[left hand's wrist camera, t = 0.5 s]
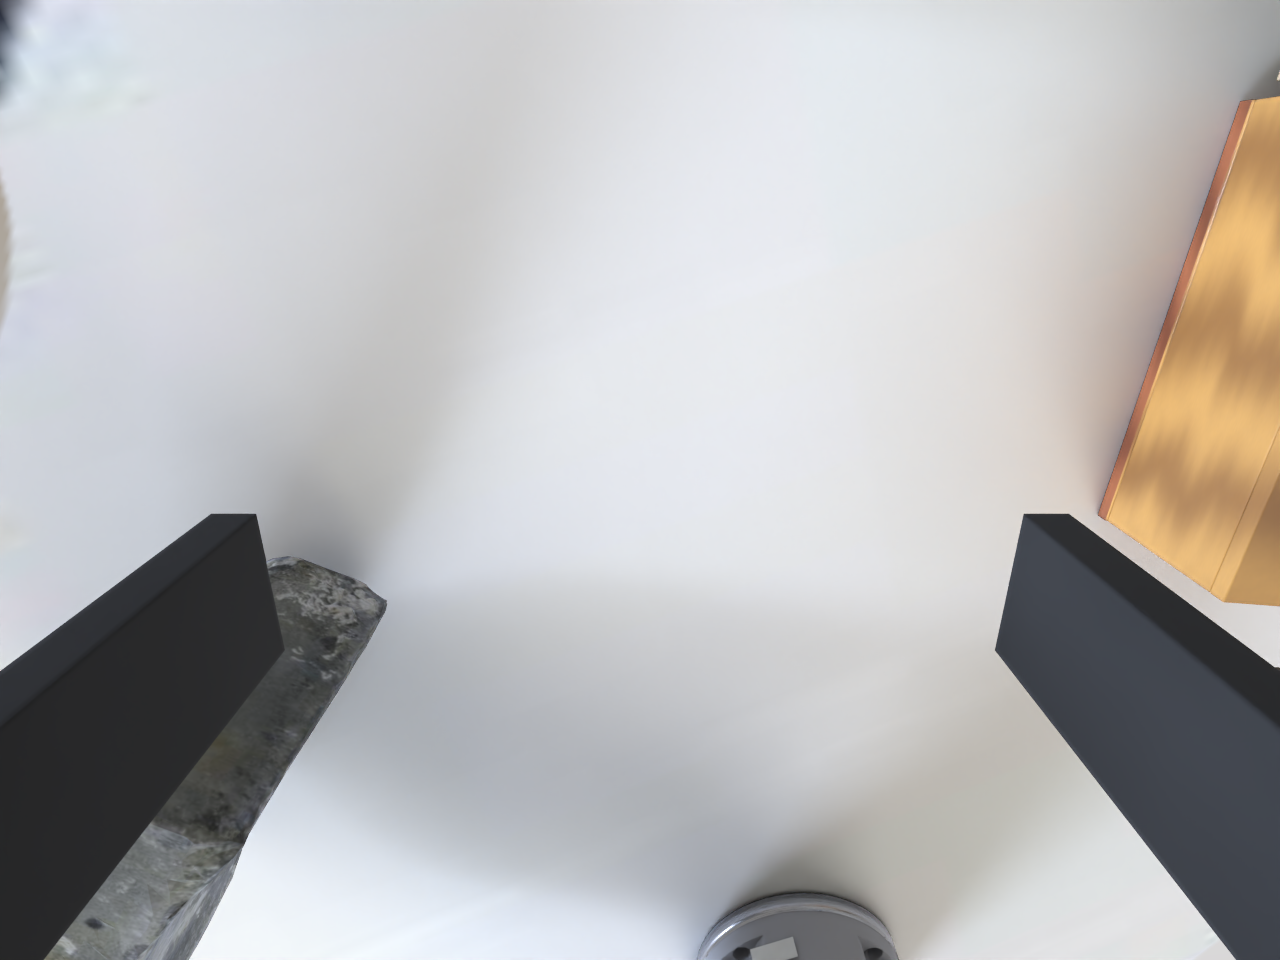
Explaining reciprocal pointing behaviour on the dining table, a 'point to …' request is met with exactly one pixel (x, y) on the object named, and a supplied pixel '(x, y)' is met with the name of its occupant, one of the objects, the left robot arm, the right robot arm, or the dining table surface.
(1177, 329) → the cabinet
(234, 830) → the concrete block
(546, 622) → the dining table surface
